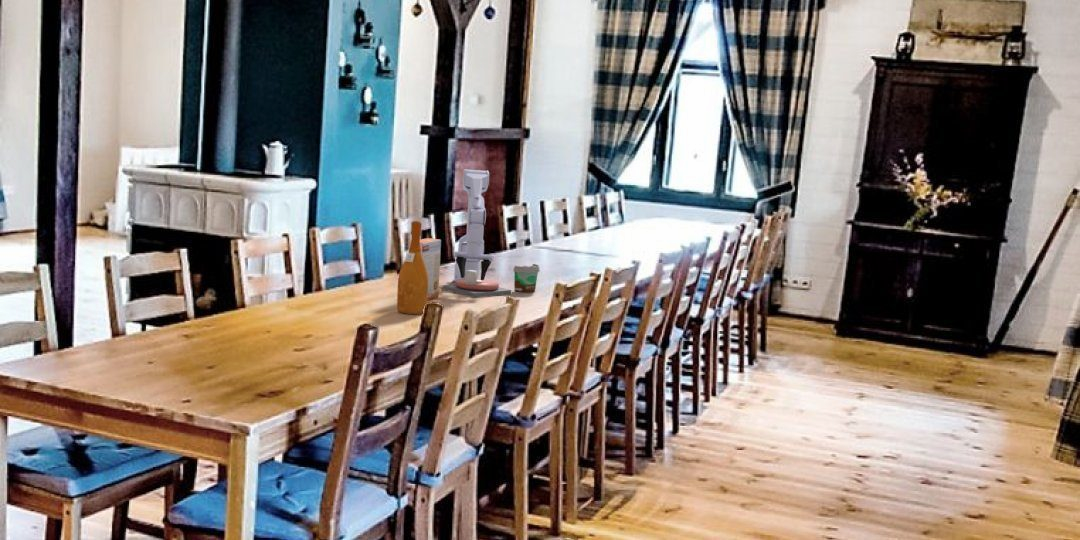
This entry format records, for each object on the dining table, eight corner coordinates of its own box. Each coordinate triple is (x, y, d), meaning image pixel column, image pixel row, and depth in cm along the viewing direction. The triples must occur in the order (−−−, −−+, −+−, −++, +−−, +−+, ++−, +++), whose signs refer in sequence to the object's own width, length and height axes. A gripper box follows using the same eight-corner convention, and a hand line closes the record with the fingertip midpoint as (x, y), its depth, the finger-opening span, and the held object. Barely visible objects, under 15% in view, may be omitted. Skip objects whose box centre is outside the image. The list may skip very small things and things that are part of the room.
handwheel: (466, 281, 415) (467, 264, 415) (505, 286, 410) (506, 269, 409) (448, 286, 401) (449, 268, 400) (488, 291, 395) (489, 274, 394)
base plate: (442, 289, 406) (442, 285, 405) (478, 286, 418) (479, 282, 418) (474, 297, 393) (474, 293, 393) (510, 294, 406) (511, 290, 405)
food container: (524, 294, 407) (526, 268, 405) (511, 292, 410) (513, 265, 409) (544, 291, 416) (546, 265, 415) (531, 289, 420) (533, 263, 419)
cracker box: (423, 295, 390) (427, 237, 387) (438, 297, 388) (442, 239, 385) (404, 300, 377) (408, 240, 374) (420, 303, 375) (423, 242, 372)
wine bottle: (392, 309, 360) (397, 219, 356) (421, 309, 364) (426, 219, 360) (401, 315, 352) (406, 222, 347) (430, 315, 356) (435, 223, 351)
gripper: (452, 240, 395) (450, 277, 397) (490, 245, 391) (487, 282, 393) (458, 239, 402) (456, 275, 404) (496, 243, 398) (493, 279, 400)
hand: (472, 278), depth 399 cm, fingers open, 7 cm apart
